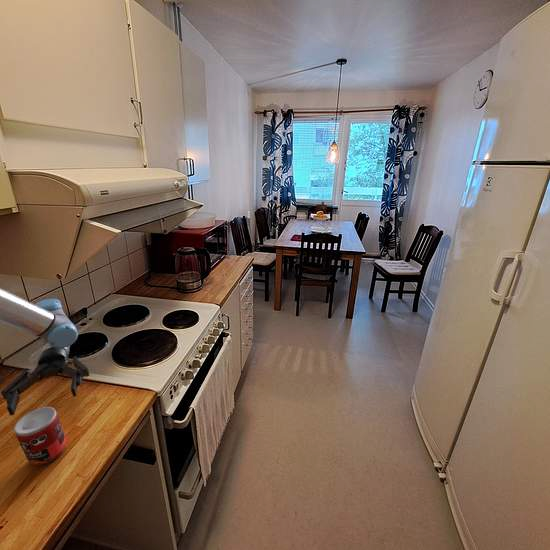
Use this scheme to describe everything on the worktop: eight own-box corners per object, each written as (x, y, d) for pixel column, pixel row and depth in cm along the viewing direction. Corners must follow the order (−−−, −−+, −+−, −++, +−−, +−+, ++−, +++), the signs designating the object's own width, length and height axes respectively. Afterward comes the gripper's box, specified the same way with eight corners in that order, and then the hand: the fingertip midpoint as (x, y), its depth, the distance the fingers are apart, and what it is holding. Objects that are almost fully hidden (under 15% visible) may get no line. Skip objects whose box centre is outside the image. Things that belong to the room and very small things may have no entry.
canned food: (20, 462, 70) (5, 430, 66) (51, 434, 77) (39, 403, 73) (45, 470, 68) (31, 437, 64) (74, 440, 76) (63, 409, 71)
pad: (28, 465, 70) (26, 462, 70) (46, 443, 76) (45, 440, 76) (52, 466, 70) (51, 463, 70) (69, 443, 76) (67, 440, 76)
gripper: (100, 354, 101) (99, 395, 84) (8, 378, 89) (-14, 430, 72) (95, 336, 98) (94, 375, 81) (0, 358, 86) (-25, 408, 69)
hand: (43, 401), depth 76 cm, fingers open, 13 cm apart
